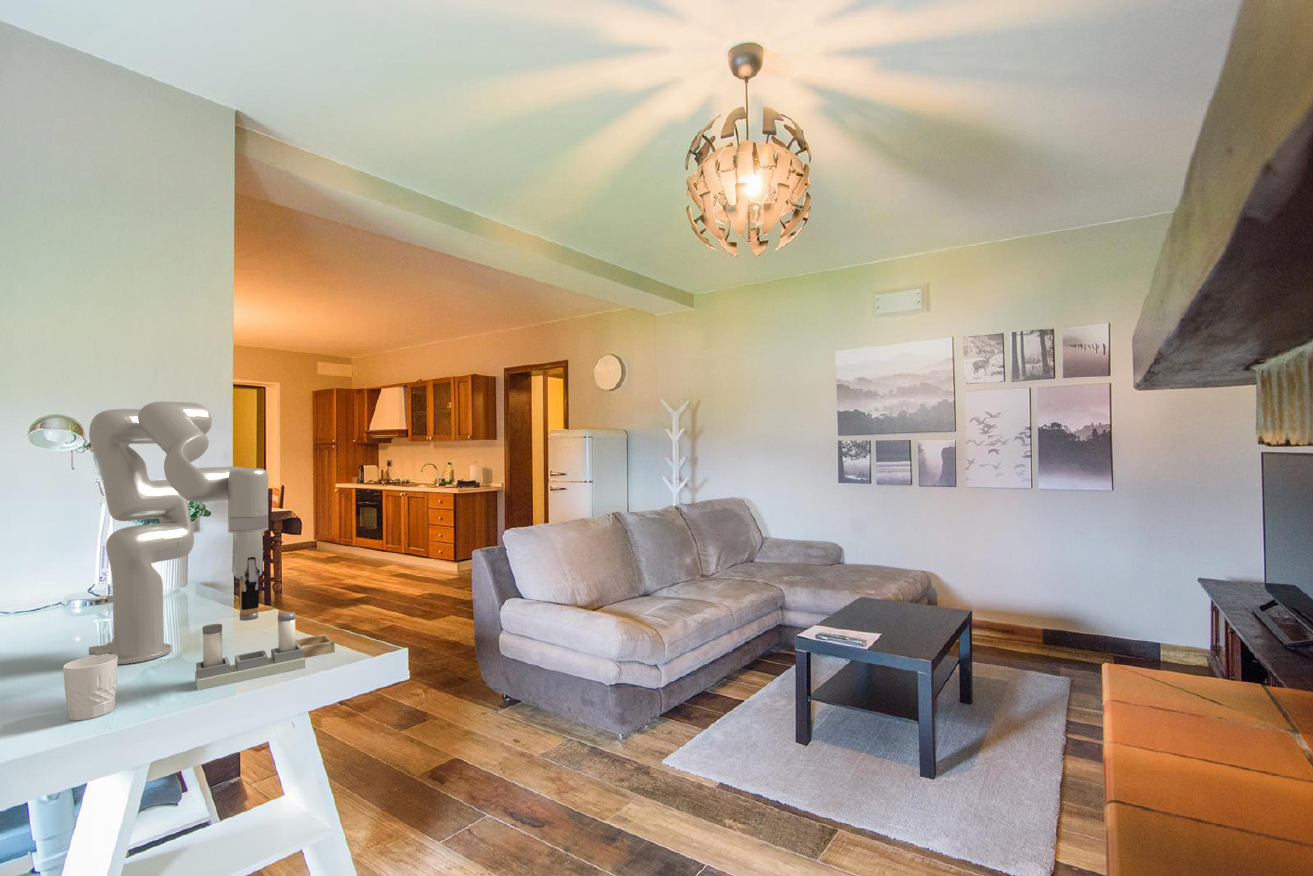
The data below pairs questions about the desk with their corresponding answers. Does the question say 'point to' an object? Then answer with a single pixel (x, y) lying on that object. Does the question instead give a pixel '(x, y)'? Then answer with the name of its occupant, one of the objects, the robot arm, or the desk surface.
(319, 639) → the tray
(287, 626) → the cylinder
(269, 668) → the fuse holder
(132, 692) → the desk surface
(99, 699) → the white cup
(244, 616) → the cylinder
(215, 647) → the cylinder
